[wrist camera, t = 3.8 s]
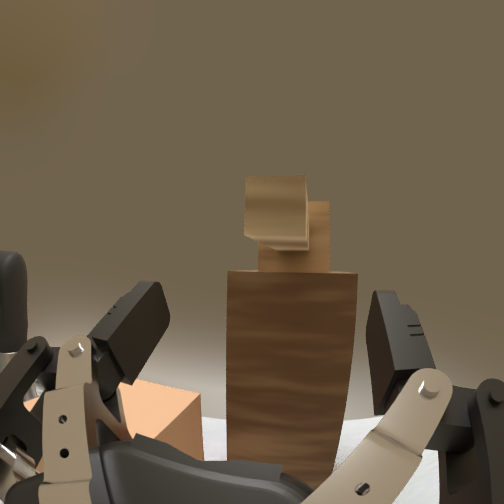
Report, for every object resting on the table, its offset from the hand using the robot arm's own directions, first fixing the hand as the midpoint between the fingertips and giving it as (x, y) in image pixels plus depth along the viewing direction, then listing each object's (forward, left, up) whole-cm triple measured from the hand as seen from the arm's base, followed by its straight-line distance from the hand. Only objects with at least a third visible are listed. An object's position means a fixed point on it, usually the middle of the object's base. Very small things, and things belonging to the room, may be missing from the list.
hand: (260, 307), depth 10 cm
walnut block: (-17, +14, -31) cm, 38 cm away
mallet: (-12, +10, +1) cm, 15 cm away
